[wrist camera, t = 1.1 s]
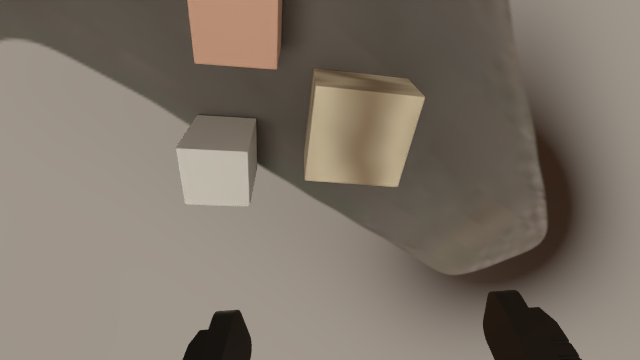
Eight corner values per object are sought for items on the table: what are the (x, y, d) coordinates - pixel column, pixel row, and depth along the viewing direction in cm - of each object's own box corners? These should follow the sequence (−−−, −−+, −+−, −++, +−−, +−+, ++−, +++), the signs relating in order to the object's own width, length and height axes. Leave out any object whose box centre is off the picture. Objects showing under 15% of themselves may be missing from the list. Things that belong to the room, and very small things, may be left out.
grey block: (203, 164, 31) (185, 204, 26) (197, 114, 28) (175, 148, 23) (257, 167, 32) (249, 206, 27) (256, 118, 29) (247, 151, 24)
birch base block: (304, 153, 31) (304, 180, 28) (313, 67, 27) (315, 85, 23) (385, 160, 32) (397, 186, 28) (408, 78, 28) (425, 97, 24)
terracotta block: (215, 42, 25) (194, 63, 20) (209, -36, 23) (183, -34, 18) (281, 48, 26) (276, 69, 21) (282, -28, 23) (278, -24, 18)
